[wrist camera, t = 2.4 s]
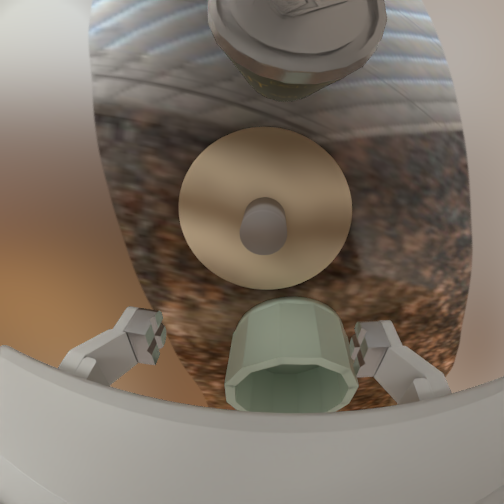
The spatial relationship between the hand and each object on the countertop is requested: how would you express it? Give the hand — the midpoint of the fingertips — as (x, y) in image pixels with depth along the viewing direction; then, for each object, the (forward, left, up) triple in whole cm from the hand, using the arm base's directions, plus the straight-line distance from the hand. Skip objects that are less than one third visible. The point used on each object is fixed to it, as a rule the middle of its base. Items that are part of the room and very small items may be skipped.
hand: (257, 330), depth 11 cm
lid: (-1, 0, -12) cm, 12 cm away
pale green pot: (+12, +3, -11) cm, 17 cm away
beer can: (-12, +1, -12) cm, 16 cm away
